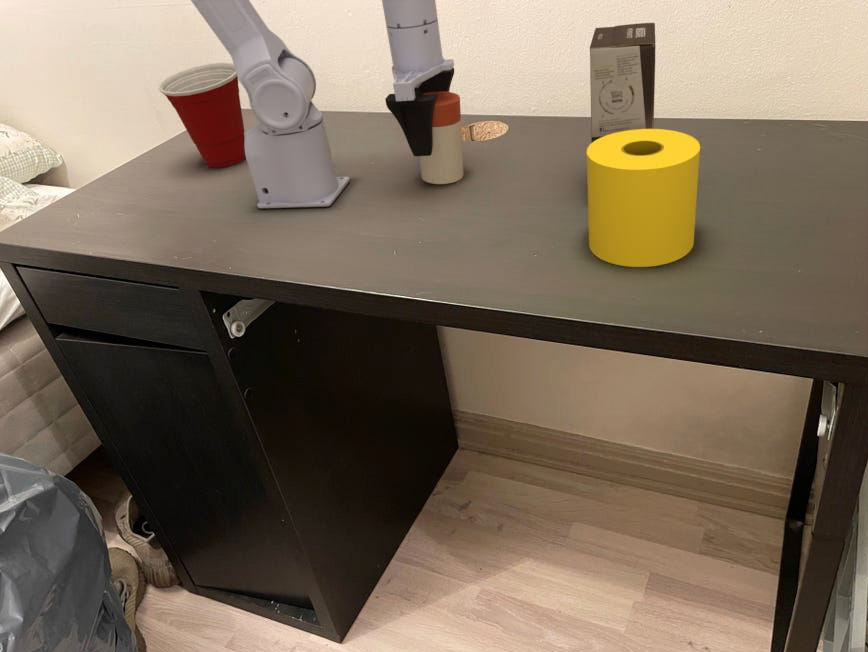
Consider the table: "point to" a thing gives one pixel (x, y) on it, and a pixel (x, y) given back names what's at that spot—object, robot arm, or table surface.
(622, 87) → the coffee box
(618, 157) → the yellow paper roll
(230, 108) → the plastic cup
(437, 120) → the container
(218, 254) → the table surface
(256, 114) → the robot arm
